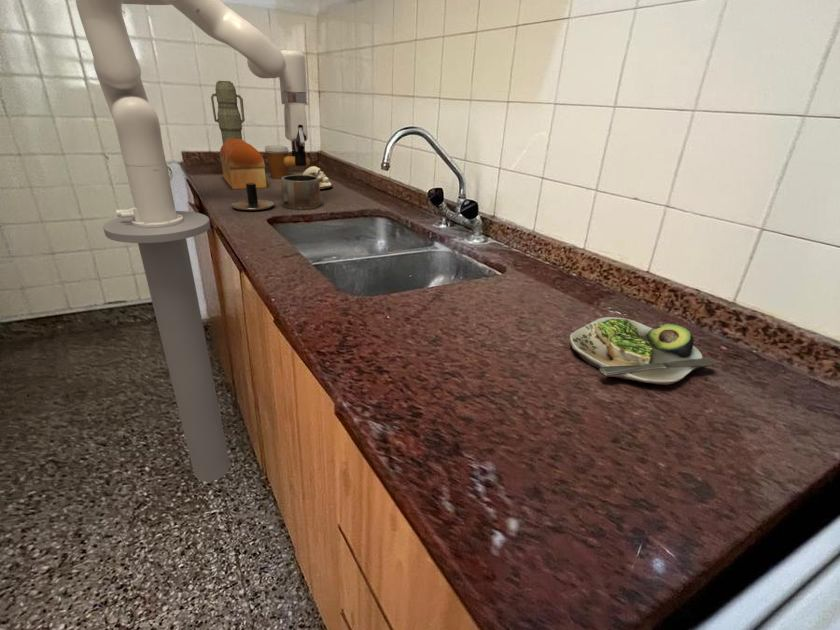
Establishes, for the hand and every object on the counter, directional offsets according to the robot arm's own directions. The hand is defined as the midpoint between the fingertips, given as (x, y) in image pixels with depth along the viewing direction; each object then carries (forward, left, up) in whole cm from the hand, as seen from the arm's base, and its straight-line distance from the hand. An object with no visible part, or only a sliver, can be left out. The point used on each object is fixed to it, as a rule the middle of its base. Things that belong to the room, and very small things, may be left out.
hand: (299, 164), depth 139 cm
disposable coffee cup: (+3, +53, -13) cm, 55 cm away
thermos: (-12, +67, -13) cm, 69 cm away
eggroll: (-1, 0, -1) cm, 1 cm away
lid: (-15, +1, -12) cm, 19 cm away
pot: (0, 0, -13) cm, 13 cm away
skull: (+12, +27, -13) cm, 32 cm away
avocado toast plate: (+24, -110, -13) cm, 113 cm away
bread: (-12, +44, -13) cm, 47 cm away
